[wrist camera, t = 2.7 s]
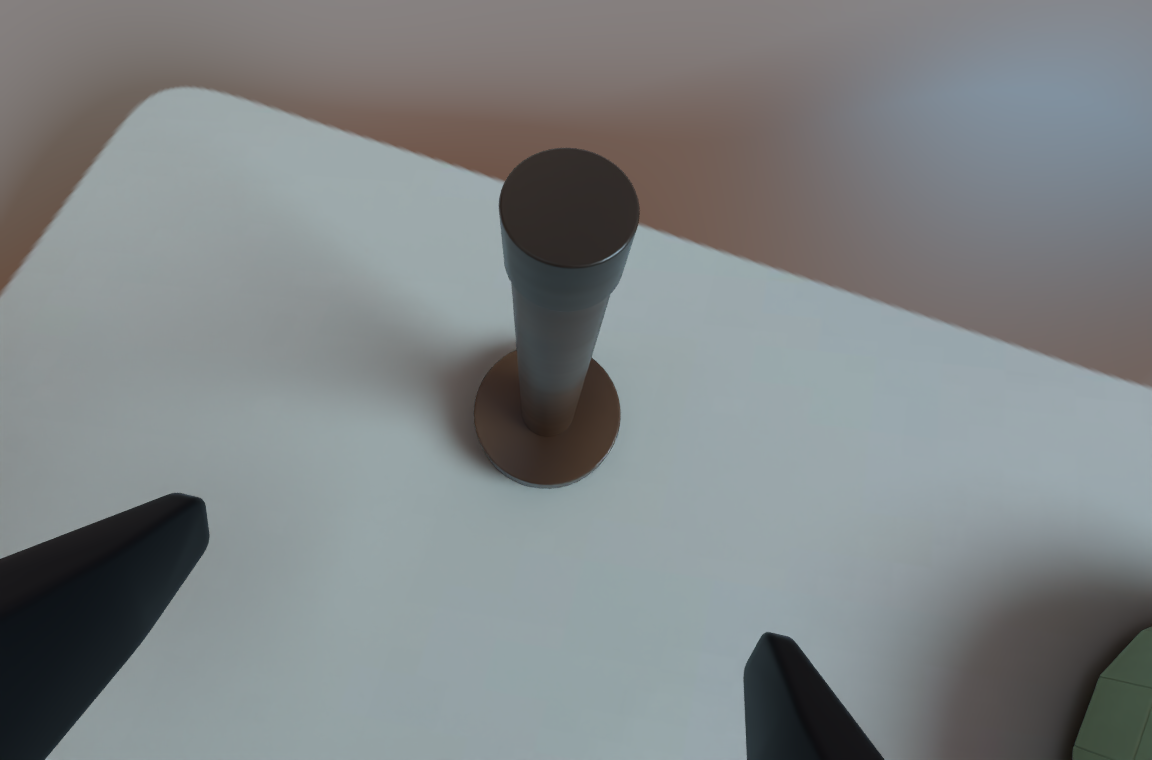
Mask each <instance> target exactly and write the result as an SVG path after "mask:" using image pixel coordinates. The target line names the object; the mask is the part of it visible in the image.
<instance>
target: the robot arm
mask: <svg viewBox="0 0 1152 760" xmlns="http://www.w3.org/2000/svg"><path fill="white" fill-rule="evenodd" d="M208 543H209V527H208V520H207V513H206V505H205V502H204V501H203V500H202V499H201V498H199V497H195V496H191V495H186V494H182V493H172V494H169V495H166V496H163V497H160V498H158V499H155V500H153V501H150V502H147V503H145V504H142V505H140V506H137V507H134V508H132V509H129V510H127V511H124V512H121V513H119V514H116V515H114V516H111V517H108V518H106V519H103V520H101V521H98V522H95V523H93V524H90V525H87V526H85V527H82V528H80V529H77V530H74V531H72V532H69V533H67V534H64V535H61V536H59V537H56V538H54V539H51V540H48V541H46V542H43V543H41V544H38V545H35V546H33V547H30V548H28V549H25V550H22V551H20V552H17V553H15V554H12V555H9V556H7V557H4V558H1V559H0V760H45V759H46V757H47V756H48V755H49V754H50V753H51V751H52V750H53V749H54V748H55V747H56V745H57V744H58V743H59V742H60V741H61V739H62V738H63V737H64V736H65V735H66V733H67V732H68V731H69V730H70V729H71V727H72V726H73V725H74V724H75V723H76V721H77V720H78V719H79V718H80V717H81V715H82V714H83V713H84V712H85V711H86V709H87V708H88V707H89V706H90V705H91V703H92V702H93V701H94V700H95V699H96V697H97V696H98V695H99V694H100V693H101V691H102V690H103V689H104V688H105V687H106V685H107V684H108V683H109V682H110V681H111V679H112V678H113V677H114V676H115V675H116V673H117V672H118V671H119V670H120V669H121V667H122V666H123V665H124V664H125V663H126V661H127V660H128V659H129V658H130V656H131V655H132V654H133V653H134V651H135V650H136V649H137V648H138V646H139V645H140V644H141V643H142V641H143V640H144V639H145V637H146V636H147V634H148V633H149V632H150V630H151V629H152V628H153V626H154V625H155V623H156V622H157V620H158V619H159V617H160V616H161V614H162V613H163V612H164V610H165V609H166V607H167V606H168V604H169V603H170V601H171V600H172V599H173V597H174V596H175V594H176V593H177V591H178V590H179V588H180V587H181V585H182V584H183V583H184V581H185V580H186V578H187V577H188V575H189V574H190V572H191V571H192V569H193V568H194V567H195V565H196V564H197V562H198V561H199V559H200V558H201V556H202V555H203V553H204V552H205V550H206V548H207V546H208ZM744 701H745V724H746V747H747V760H884V758H883V757H882V756H881V754H880V753H879V752H878V750H877V749H876V748H875V746H874V745H873V744H872V742H871V741H870V740H869V738H868V737H867V736H866V734H865V733H864V732H863V731H862V729H861V728H860V727H859V725H858V724H857V723H856V721H855V720H854V719H853V717H852V716H851V715H850V713H849V712H848V711H847V709H846V708H845V707H844V705H843V704H842V703H841V701H840V700H839V699H838V698H837V696H836V695H835V694H834V692H833V691H832V690H831V688H830V687H829V686H828V684H827V683H826V682H825V680H824V679H823V678H822V676H821V675H820V674H819V672H818V671H817V670H816V669H815V667H814V666H813V665H812V663H811V662H810V661H809V659H808V658H807V657H806V655H805V654H804V653H803V651H802V650H801V649H800V647H799V646H798V645H797V643H796V642H795V641H794V640H793V639H791V638H790V637H787V636H783V635H779V634H775V633H771V632H766V633H764V634H763V635H762V636H761V638H760V639H759V641H758V643H757V645H756V647H755V648H754V650H753V652H752V654H751V656H750V657H749V659H748V661H747V663H746V666H745V670H744Z"/></svg>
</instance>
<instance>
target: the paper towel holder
mask: <svg viewBox="0 0 1152 760" xmlns="http://www.w3.org/2000/svg"><path fill="white" fill-rule="evenodd" d="M639 214H640V213H639V202H638V198H637V195H636V192H635V189H634V187H633V185H632V183H631V182H630V180H629V179H628V177H627V176H626V175H625V174H624V172H623V171H622V170H621V169H620V168H619V167H617V166H616V165H615V164H614V163H612V162H611V161H609V160H608V159H606V158H604V157H602V156H600V155H598V154H596V153H593V152H590V151H586V150H582V149H576V148H556V149H550V150H546V151H542V152H539V153H537V154H534V155H532V156H530V157H529V158H527V159H525V160H524V161H522V162H521V163H520V164H519V165H518V166H517V167H516V168H514V169H513V171H512V172H511V173H510V174H509V176H508V177H507V179H506V181H505V183H504V185H503V187H502V190H501V193H500V198H499V215H500V225H501V235H502V245H503V255H504V264H505V269H506V272H507V275H508V277H509V279H510V281H511V284H512V296H513V309H514V322H515V334H516V347H517V350H515V351H513V352H510V353H509V354H507V355H506V356H504V357H503V358H501V359H500V360H499V361H498V362H497V363H496V364H495V365H494V366H493V367H492V368H491V369H490V370H489V371H488V373H487V374H486V376H485V377H484V379H483V381H482V383H481V385H480V387H479V389H478V392H477V395H476V400H475V405H474V423H475V428H476V433H477V436H478V439H479V441H480V444H481V446H482V448H483V450H484V452H485V454H486V455H487V457H488V458H489V460H490V461H491V462H492V464H493V465H494V466H495V467H496V468H497V469H498V470H499V471H501V472H502V473H503V474H504V475H505V476H507V477H509V478H510V479H512V480H514V481H516V482H518V483H520V484H523V485H526V486H530V487H535V488H547V489H550V488H559V487H563V486H567V485H570V484H573V483H575V482H578V481H580V480H581V479H583V478H585V477H586V476H588V475H589V474H590V473H592V472H593V471H594V470H595V469H596V468H597V467H598V466H599V465H600V464H601V463H602V461H603V460H604V459H605V457H606V456H607V455H608V454H609V452H610V450H611V448H612V447H613V445H614V442H615V440H616V438H617V434H618V431H619V426H620V403H619V398H618V395H617V391H616V389H615V386H614V384H613V382H612V380H611V379H610V377H609V375H608V374H607V373H606V371H605V370H604V369H603V368H602V367H601V366H600V365H599V364H598V363H597V362H596V361H595V360H594V359H592V358H591V357H592V354H593V350H594V347H595V344H596V340H597V337H598V334H599V330H600V327H601V324H602V320H603V317H604V314H605V310H606V307H607V304H608V300H609V297H610V294H611V293H612V292H613V290H614V289H615V288H616V286H617V285H618V283H619V281H620V279H621V276H622V273H623V270H624V267H625V264H626V261H627V258H628V255H629V251H630V248H631V245H632V242H633V239H634V236H635V233H636V230H637V226H638V223H639Z"/></svg>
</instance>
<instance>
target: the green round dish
mask: <svg viewBox="0 0 1152 760" xmlns="http://www.w3.org/2000/svg"><path fill="white" fill-rule="evenodd" d="M1074 745H1075V746H1073V759H1072V760H1152V626H1151V627H1149V628H1146V629H1144V630H1142V631H1140V633H1139V634H1138V635H1137V636H1136V637H1135V638H1134V639H1133V640H1132V641H1131V642H1130V643H1129V644H1128V645H1127V647H1126V648H1125V649H1124V650H1123V651H1122V652H1121V653H1120V654H1119V655H1118V656H1117V657H1116V658H1115V659H1114V661H1113V662H1112V663H1111V664H1110V665H1109V666H1108V667H1107V668H1106V669H1105V670H1104V671H1103V672H1102V673H1101V675H1100V678H1099V679H1098V681H1097V684H1096V687H1095V690H1094V692H1093V695H1092V698H1091V700H1090V703H1089V706H1088V708H1087V711H1086V714H1085V717H1084V719H1083V722H1082V725H1081V727H1080V730H1079V733H1078V735H1077V738H1076V741H1075V744H1074Z"/></svg>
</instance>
